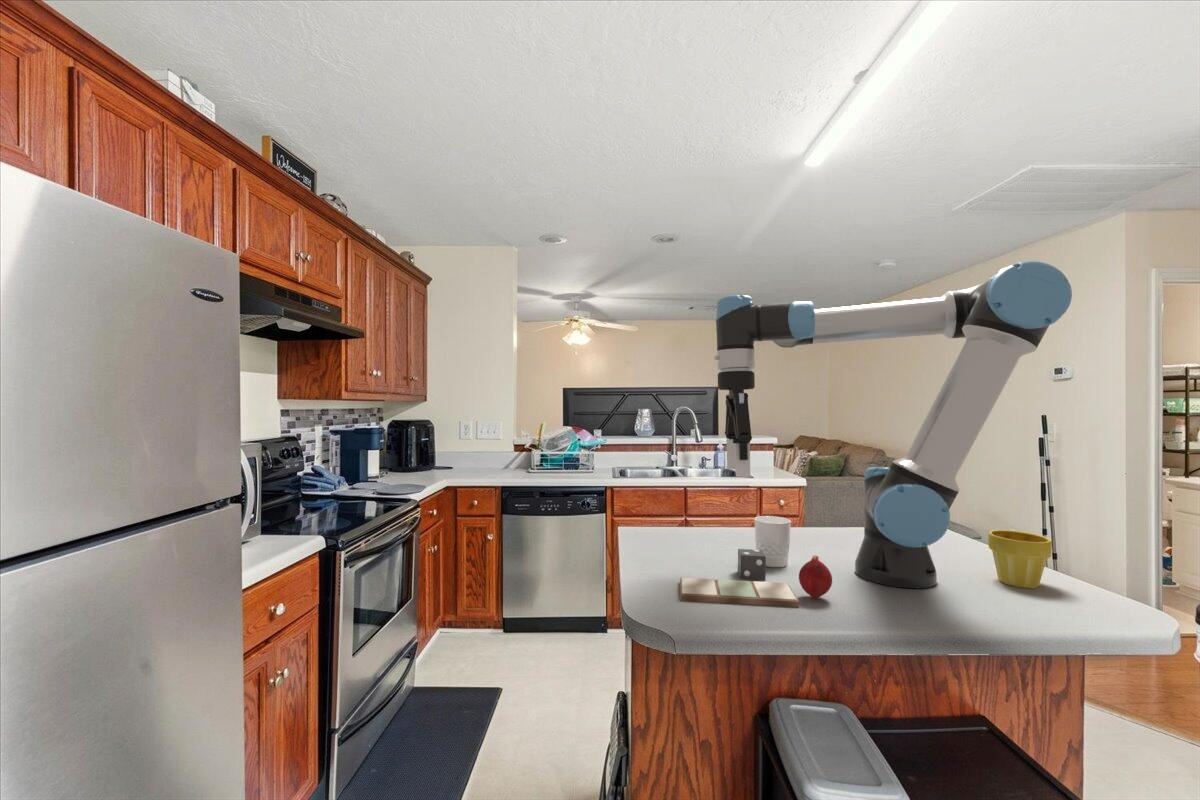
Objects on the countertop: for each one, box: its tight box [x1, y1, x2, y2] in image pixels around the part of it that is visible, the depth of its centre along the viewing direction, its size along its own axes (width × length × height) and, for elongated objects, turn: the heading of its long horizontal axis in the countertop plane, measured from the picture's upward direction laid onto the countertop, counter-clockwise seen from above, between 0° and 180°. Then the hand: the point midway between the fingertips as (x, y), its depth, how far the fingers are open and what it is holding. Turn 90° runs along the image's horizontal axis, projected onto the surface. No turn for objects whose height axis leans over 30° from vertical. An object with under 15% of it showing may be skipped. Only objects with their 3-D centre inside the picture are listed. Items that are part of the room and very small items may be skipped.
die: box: [737, 548, 767, 581], centre depth 115 cm, size 5×5×5 cm
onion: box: [798, 555, 833, 600], centre depth 101 cm, size 6×6×8 cm
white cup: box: [754, 515, 792, 568], centre depth 124 cm, size 8×8×10 cm
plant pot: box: [987, 529, 1053, 589], centre depth 111 cm, size 10×10×10 cm
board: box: [679, 577, 800, 608], centre depth 103 cm, size 21×10×1 cm, turn 82°
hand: (738, 472), depth 113 cm, fingers open, 13 cm apart
